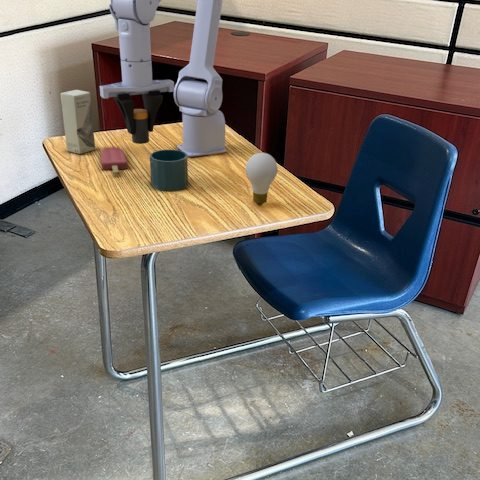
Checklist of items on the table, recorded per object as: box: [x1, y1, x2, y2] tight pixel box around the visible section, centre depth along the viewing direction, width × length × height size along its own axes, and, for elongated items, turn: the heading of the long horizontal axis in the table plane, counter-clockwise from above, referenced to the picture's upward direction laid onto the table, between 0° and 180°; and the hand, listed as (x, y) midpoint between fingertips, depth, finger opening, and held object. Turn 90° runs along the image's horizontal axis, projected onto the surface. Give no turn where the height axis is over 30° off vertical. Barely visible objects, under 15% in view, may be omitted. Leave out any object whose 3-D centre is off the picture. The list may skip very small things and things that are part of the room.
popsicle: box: [100, 146, 128, 175], centre depth 132 cm, size 5×2×15 cm
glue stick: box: [131, 108, 150, 145], centre depth 121 cm, size 3×3×6 cm
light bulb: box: [245, 152, 278, 206], centre depth 113 cm, size 6×6×10 cm
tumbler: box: [149, 149, 189, 192], centre depth 122 cm, size 7×7×6 cm
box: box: [60, 89, 96, 155], centre depth 136 cm, size 5×4×13 cm
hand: (140, 131), depth 121 cm, fingers closed on glue stick, 3 cm apart
